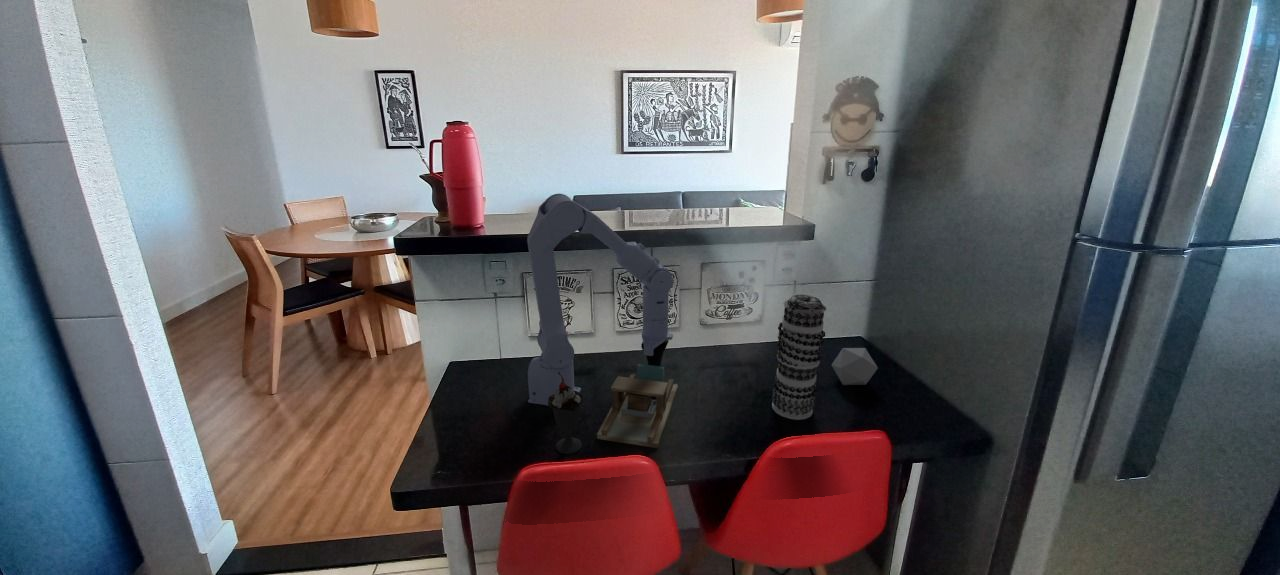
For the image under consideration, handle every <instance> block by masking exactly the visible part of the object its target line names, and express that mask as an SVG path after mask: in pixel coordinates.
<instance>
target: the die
mask: <svg viewBox="0 0 1280 575" xmlns="http://www.w3.org/2000/svg"><path fill="white" fill-rule="evenodd" d="M831 367H832V368H833V371H834V372H835V374H836V375H837V377H838V379H839V380H840V382H841V385H843V386H866V385H867V383H868V382H869V381H870V380H871V378H872V376H873V375H874V374H875V373H876V371H877V370H878V369H879V367H878V366H877V364H876V362H875V361H874V359H873V358H872V357H871V354H870V353H869V351H868V350H867V348H866V347H842V348H841V350H840V351H839V352H838V354H837V356H836V357H835V359H834V361H833V362H832V363H831Z"/></svg>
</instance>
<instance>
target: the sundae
mask: <svg viewBox="0 0 1280 575" xmlns="http://www.w3.org/2000/svg"><path fill="white" fill-rule="evenodd" d="M558 374H559V375H560V372H558ZM560 376H561V375H560ZM561 377H562V376H561ZM583 395H584V394H582V393H581V392H577V391H574V390H573V389H572V388H571V387H569V386H566V383H564V379H563V377H562V383H560V385H559V389H558V390H557V391H556V393H555V394H553V395H551V396H550V397H549V398H548V405H547V406H548V407H549V408H550V409H552V410H553V415H554V420H555V424H556V426H557V428H558V430H560V431H561V432H564V436H565V437H564V438H561V439H560V440H559V441H558V442H557V443H556V444H555V449H556V451H557V452H558V453H560V454H563V455H572V454H576V453H577V452H579V451H580V450H581V449H582V447H583V443H582V441H581V440H580V439H579V438H576V437H573V435H572V432H573V431H575V429H576V428H577V427H578V426H579V422H580V413H581V407H582V405H583V404H584V402H585V399H586V398H585V396H583Z"/></svg>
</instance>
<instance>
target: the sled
mask: <svg viewBox="0 0 1280 575" xmlns="http://www.w3.org/2000/svg"><path fill="white" fill-rule="evenodd" d="M636 366H637V368H636V370H637V372H636V374H637V375H636V376H637V377H636V379H643V380H651V381H659V382H665V366H661V365H660V366H652V365H648V364H644V363H642V364H641V363H638V364H637V365H636ZM655 409H656V400H652V399H651V405H650V407H649V410H648V412H644V411H637V410H630V409H628V400H627V402H626V404H625V406H624V408H622V409H621V414H622V415H629V416H636V417H642V418H649V419H652V417H653V415H654V412H655Z"/></svg>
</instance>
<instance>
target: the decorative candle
mask: <svg viewBox="0 0 1280 575" xmlns="http://www.w3.org/2000/svg"><path fill="white" fill-rule="evenodd" d="M783 306H784V311H783V316H782V319H781V320H782V321H781V322H779V324H778V327H777V329H778V335H777V339H778V341H777V342H776V344H777V351H776V357H777V360H778V365H777V366H778V367H777V368H776V374H775V376H774V379H773V380H774V383H773V386H774V388H773V389H772V397H771V400H772V403H771V408H772V409H773V411H774V412H775V413H776V414H777V415H779V416H781V417H782V418H786V419H788V420H789V419H790V420H795V421H799V420H806V419H808V418H810V417H812V415H813V412H814V411H813V410H814V407H815V400H816V397H815V394H816V393H817V389H816V388H817V386H818V383H817V373H816V372H817V369H818V368H817V367H818V366H819V365H820V363H821V359H822V355H821V354H822V353H823V347H822V345H824V343H825V339H824V337H826V331H824V325H825V323H824V317H825V311H826V310H827V307H826V305H825V304H823V303H822V301H821V299H820V298H818V297H817V296H814V295H810V294H795V295H792V296H791V297H790V298H789V299H788V300H785V301H784V302H783Z"/></svg>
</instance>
